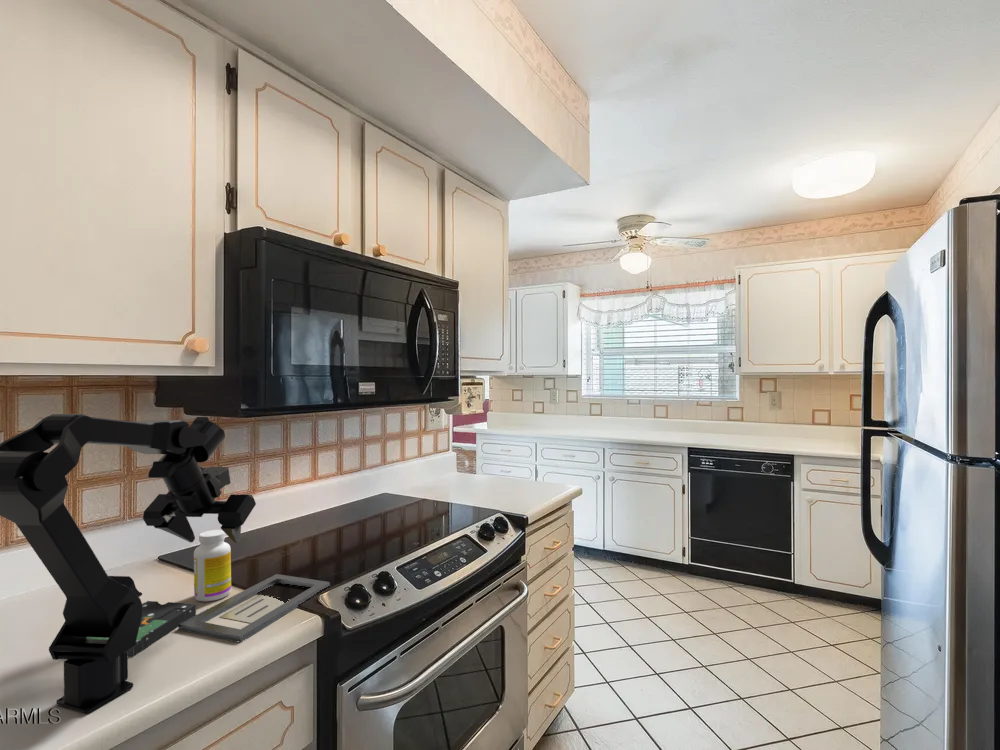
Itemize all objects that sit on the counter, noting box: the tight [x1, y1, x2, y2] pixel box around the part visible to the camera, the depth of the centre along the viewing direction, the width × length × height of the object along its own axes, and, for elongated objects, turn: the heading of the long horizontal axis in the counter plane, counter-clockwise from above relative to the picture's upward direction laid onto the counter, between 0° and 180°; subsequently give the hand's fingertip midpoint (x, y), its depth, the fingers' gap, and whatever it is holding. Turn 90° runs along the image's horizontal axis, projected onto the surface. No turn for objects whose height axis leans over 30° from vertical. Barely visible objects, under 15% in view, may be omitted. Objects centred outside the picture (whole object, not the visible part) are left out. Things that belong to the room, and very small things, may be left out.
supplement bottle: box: [193, 529, 232, 602], centre depth 107 cm, size 7×7×13 cm
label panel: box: [177, 573, 331, 643], centre depth 103 cm, size 24×14×1 cm, turn 161°
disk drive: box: [86, 600, 197, 658], centre depth 93 cm, size 10×3×15 cm
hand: (215, 540), depth 101 cm, fingers open, 9 cm apart
